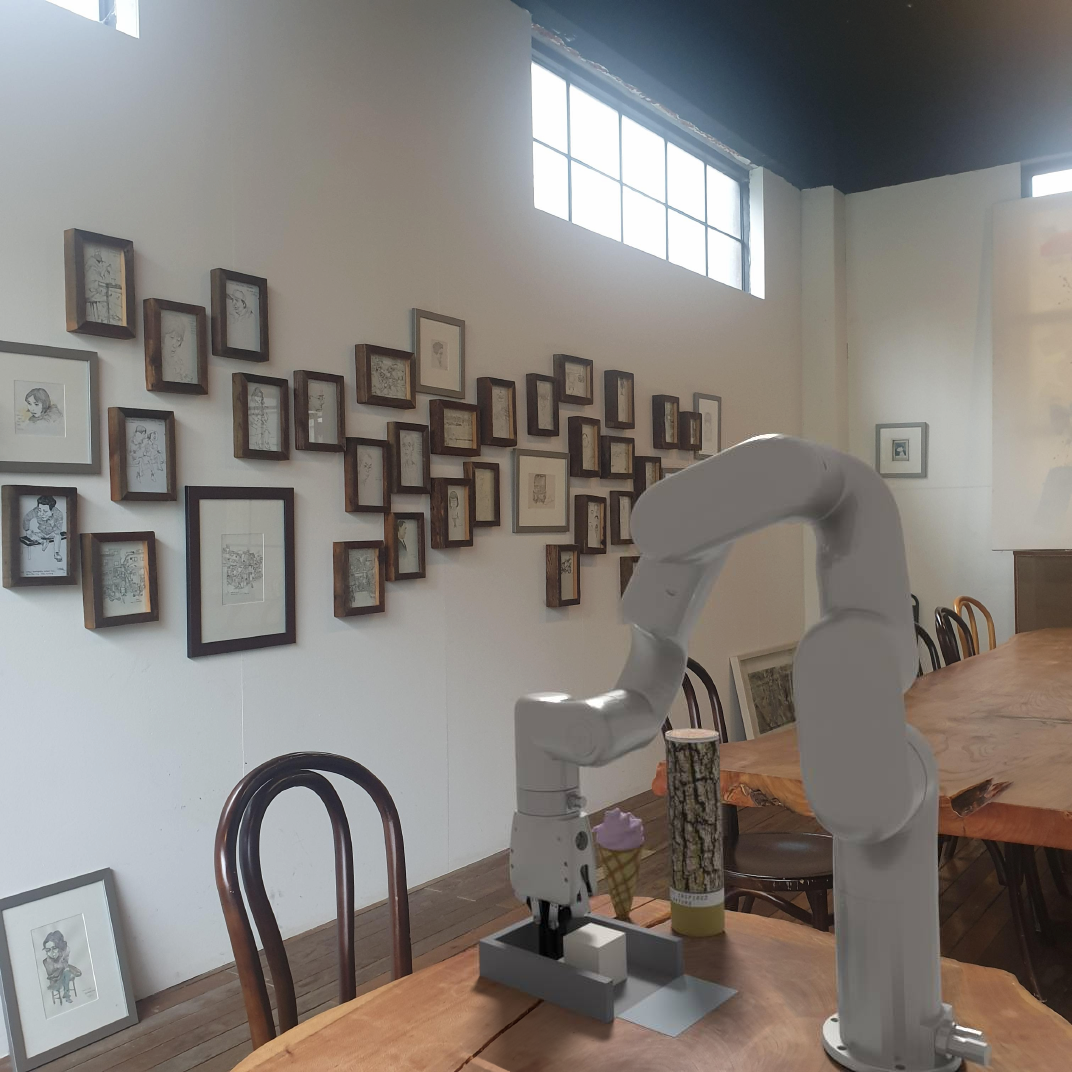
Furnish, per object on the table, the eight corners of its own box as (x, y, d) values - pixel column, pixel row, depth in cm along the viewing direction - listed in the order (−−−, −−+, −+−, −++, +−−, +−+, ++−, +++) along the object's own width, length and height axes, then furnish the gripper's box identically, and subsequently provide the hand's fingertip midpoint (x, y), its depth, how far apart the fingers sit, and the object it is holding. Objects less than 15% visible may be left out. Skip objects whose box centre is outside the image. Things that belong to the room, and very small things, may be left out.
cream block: (627, 977, 109) (625, 933, 109) (600, 993, 105) (598, 947, 105) (591, 966, 112) (590, 922, 112) (564, 981, 109) (563, 936, 109)
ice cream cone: (590, 926, 126) (586, 810, 126) (601, 909, 131) (597, 798, 132) (641, 930, 124) (637, 812, 124) (649, 913, 130) (646, 800, 130)
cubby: (738, 995, 105) (737, 953, 105) (665, 1049, 94) (663, 1002, 94) (560, 939, 122) (559, 903, 122) (479, 979, 111) (478, 940, 111)
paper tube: (725, 942, 119) (718, 738, 120) (669, 939, 121) (663, 738, 121) (725, 921, 126) (719, 728, 126) (672, 919, 127) (666, 728, 128)
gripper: (619, 802, 111) (624, 963, 111) (522, 784, 121) (526, 932, 121) (578, 817, 105) (583, 987, 105) (480, 797, 115) (484, 952, 115)
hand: (553, 957), depth 113 cm, fingers closed
